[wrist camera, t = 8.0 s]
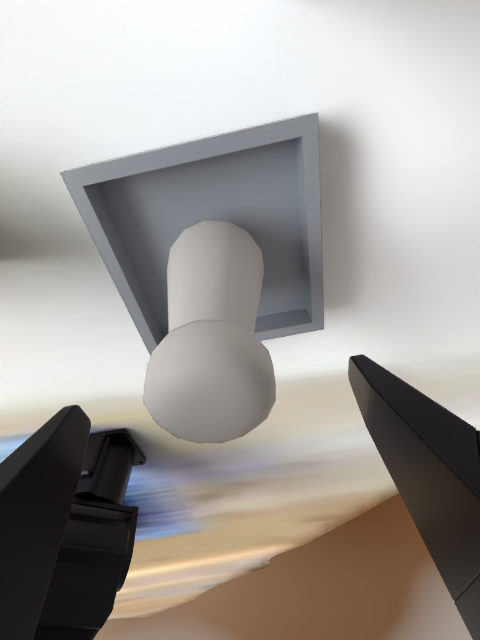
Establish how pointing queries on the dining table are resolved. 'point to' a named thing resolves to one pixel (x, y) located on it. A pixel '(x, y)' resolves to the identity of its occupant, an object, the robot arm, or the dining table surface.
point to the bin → (212, 218)
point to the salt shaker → (211, 339)
